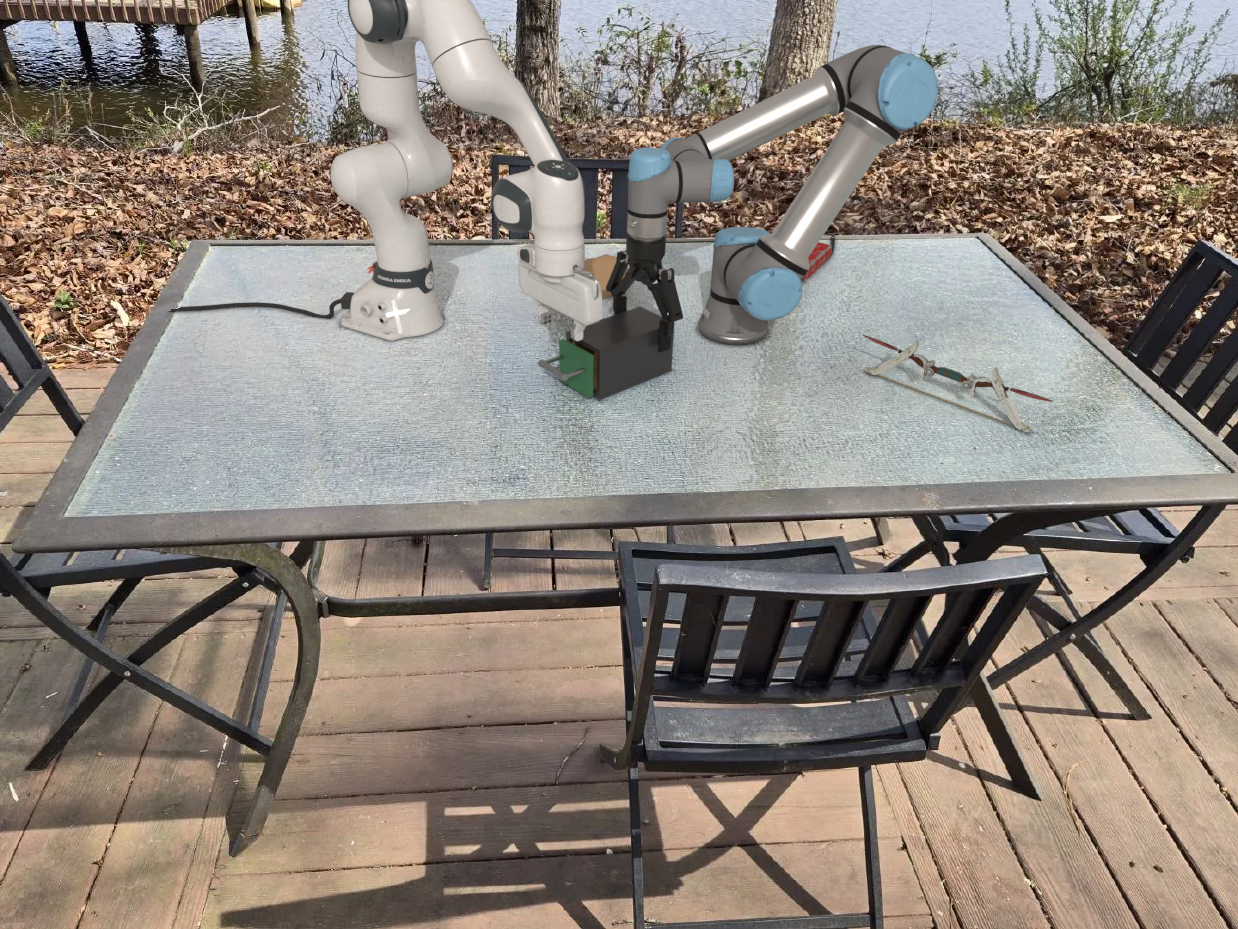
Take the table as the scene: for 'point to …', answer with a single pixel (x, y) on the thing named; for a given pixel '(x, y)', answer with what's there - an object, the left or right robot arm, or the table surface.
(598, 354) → the dark grey box
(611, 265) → the squash
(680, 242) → the table surface
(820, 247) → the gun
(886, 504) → the table surface
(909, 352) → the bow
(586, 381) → the drawer
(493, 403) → the table surface
